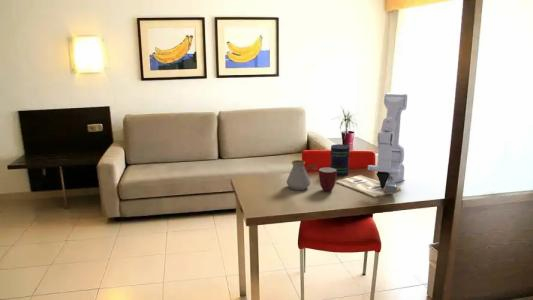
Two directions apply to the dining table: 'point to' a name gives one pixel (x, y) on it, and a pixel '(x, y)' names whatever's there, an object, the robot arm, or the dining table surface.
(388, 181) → the grey square pillar
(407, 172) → the dining table surface
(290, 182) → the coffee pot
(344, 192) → the dining table surface
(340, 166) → the storage jar
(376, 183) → the label board
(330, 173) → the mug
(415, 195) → the dining table surface
